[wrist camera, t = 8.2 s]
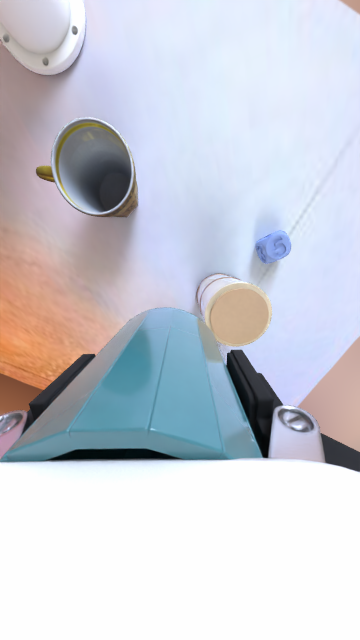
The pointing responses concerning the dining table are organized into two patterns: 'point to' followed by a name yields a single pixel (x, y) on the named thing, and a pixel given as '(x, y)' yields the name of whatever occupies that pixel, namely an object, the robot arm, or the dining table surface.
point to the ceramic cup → (93, 169)
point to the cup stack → (233, 309)
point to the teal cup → (146, 400)
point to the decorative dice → (273, 247)
